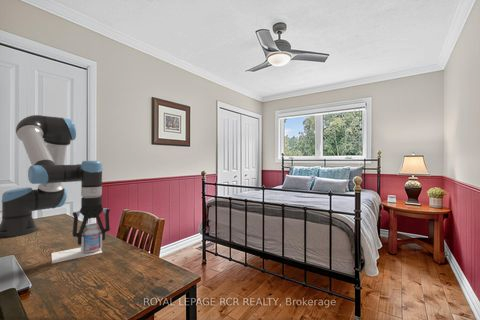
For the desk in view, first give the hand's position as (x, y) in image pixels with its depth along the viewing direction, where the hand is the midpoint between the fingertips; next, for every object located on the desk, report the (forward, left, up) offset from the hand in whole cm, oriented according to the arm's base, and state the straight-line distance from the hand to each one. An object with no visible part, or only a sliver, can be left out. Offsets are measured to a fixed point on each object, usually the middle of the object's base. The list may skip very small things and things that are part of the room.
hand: (91, 249), depth 102 cm
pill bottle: (0, 0, 0) cm, 1 cm away
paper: (-2, -5, -1) cm, 5 cm away
